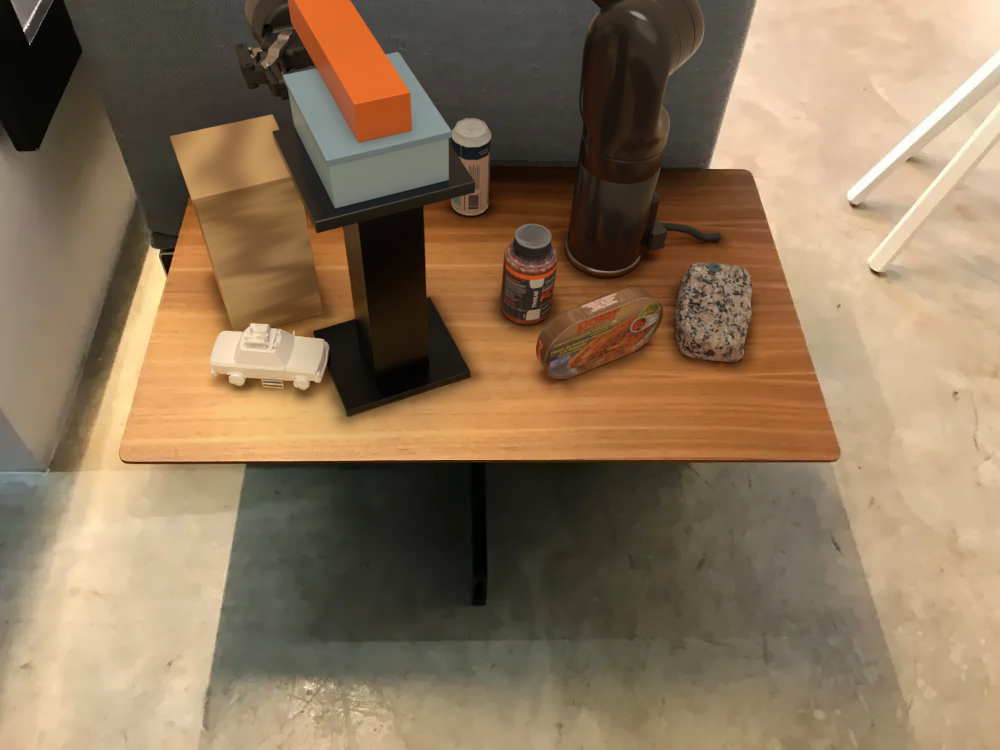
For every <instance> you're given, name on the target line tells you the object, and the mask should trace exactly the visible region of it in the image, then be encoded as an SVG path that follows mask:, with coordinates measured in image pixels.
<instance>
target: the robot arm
mask: <svg viewBox="0 0 1000 750" xmlns="http://www.w3.org/2000/svg"><path fill="white" fill-rule="evenodd" d="M591 1H592V2H593V3H594V4H595V5H596V6H597V7H598V8H599V11H597V13H596V14H594V16H593V17H592V19H591V21H590V23H589V26H588V27H587V31H586V35H585V39H584V44H583V51H582V57H581V58H582V59H581V70H580V80H579V81H580V83H579V93H578V94H579V96H578V107H579V112H580V118H581V119H582V129H581V130H582V131H581V137H580V142H579V143H580V144H579V152H578V159H577V164H576V172H575V178H574V179H575V180H574V186H573V187H574V188H573V194H572V201H571V210H570V216H569V222H568V229H567V234H566V239H565V245H564V250H565V256H566V257H567V259H568V261H569V262H570V263H571V264H572V265H573V266H574V267H575V268H576V269H578V270H579V271H581V272H583V273H585V274H587V275H589V276H593V277H598V278H617V277H621V276H623V275H626V274H628V273H630V272H632V271H633V270H634V269H635V268H636V267H637V266H638V265H639V263H640V261H641V260H643V259H646V258H647V256H648V252H650V253H651V252H655V251H659V250H661V249H664V247H665V245H666V244H665V243H666V240H667V236H668V232H677V233H681V234H682V233H683V234H687V235H689V236H691V237H693V238H695V239H697V240H699V241H702V242H705V243H706V242H709V243H711V242H719V241H721V238H722V235H721V232H713V233H706V232H702V231H700V230H698V229H697V228H695V227H693V226H690V225H687V224H682V223H675V222H661V221H660V220H659V218H657V215H658V210H659V206H660V202H661V197H660V195H659V193H658V192H657V191H656V190H657V185H658V180H659V176H660V172H661V167H662V162H663V158H664V154H665V149H666V146H667V143H668V138H669V133H670V128H671V119H670V115H669V113H668V111H667V109H666V108H665V106H663V101H664V96H665V91H666V87H667V84H668V80H669V78H671V77H672V75H674V74H675V73H676V72H677V71H678V70H679V69H681V67H682V66H683V65H684V64H685V63H686V62H687V61H688V60H690V58H691V57H693V55H694V54H695V53H696V52H697V50H698V49H699V48H700V46H701V44H702V42H703V40H704V35H705V26H706V25H705V18H704V14H703V10H702V8H701V6H700V3H699V1H698V0H591ZM244 9H245V16H246V18H245V20H246V19H247V20H246V23H247V26H248V28H249V30H250V33H251V35H252V37H253V39H254V40H255V41H256V42H257V43H258V45H259V47H251V46H247V44H246V43H245V42H238V43H236V44H234V49H235V53H236V57H237V61H238V65H239V68H240V71H241V74H242V76H243V78H244V79H243V80H244V82H245V84H246V87H247V88H248V89H249V90H254V89H255V90H256V89H258V88H259V87H260V85H265V87H266V88H268V89H269V90H270V93H271V94H272V96H274V97H275V98H279V97H280V99H281V100H282V101H287V100H290V99H289V93H288V89H287V87H286V85H285V83H284V80H283V75H286V74H291V73H295V72H298V71H299V70H303V69H306V68H309V67H316V66H315V64H314V62H313V61H312V59H311V57H310V55H309V53H308V52H307V50H306V48H305V46H304V45H303V43H302V41H301V39H300V37H299V36H298V34H297V32H296V30H295V28H294V27H293V25H292V23H291V18H290V12H289V5H288V0H246V3H245V8H244ZM374 38H375V39H376V37H375V36H374ZM261 60H262V61H261ZM260 61H261V63H260ZM259 63H260V65H259Z"/></svg>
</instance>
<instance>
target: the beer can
mask: <svg viewBox="0 0 1000 750" xmlns="http://www.w3.org/2000/svg"><path fill="white" fill-rule="evenodd" d="M451 131H452V137H451V138H450V141H451V142H450V145H451V146H452V148H453V149H454V151H455V152H456V154H457V155H458V157H459V158H460V160H461V161H462V163H463V164H464V166H465V168H466V169H467V171H468V172H469V174H470V175H471V177H472V178H473V180H474V181H475V193H472V194H468V195H464V196H460V197H456V198H452V199H450V203H451V206H452V208H453V210H454V211H455V212H457V213H459V214H461V215H463V216H478V215H480V214H482V213H484V212H485V211H486V210H487V209H488V207H489V202H490V199H489V198H490V179H491V156H492V155H491V154H492V153H491V152H492V132H491V130H490V128H489V127H488V125H487V123H486V122H485V121H484V120H481V119H479V118H476V117H466V118H463V119H461V120H458V121H457V122H456V124H455V126H454V128H453V129H452V130H451Z"/></svg>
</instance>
